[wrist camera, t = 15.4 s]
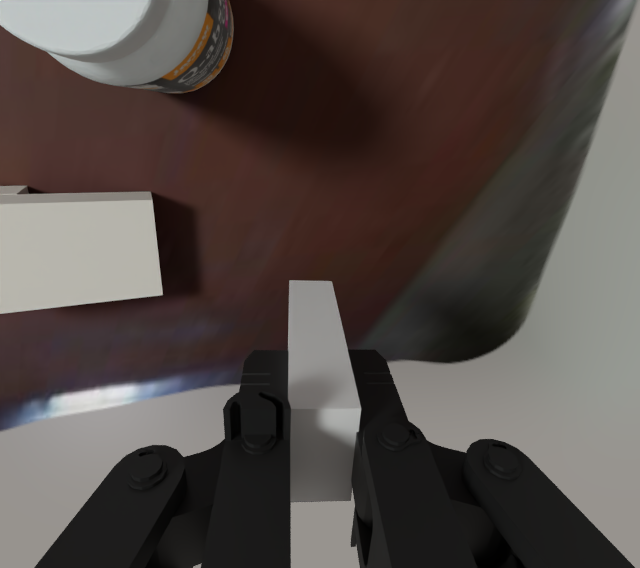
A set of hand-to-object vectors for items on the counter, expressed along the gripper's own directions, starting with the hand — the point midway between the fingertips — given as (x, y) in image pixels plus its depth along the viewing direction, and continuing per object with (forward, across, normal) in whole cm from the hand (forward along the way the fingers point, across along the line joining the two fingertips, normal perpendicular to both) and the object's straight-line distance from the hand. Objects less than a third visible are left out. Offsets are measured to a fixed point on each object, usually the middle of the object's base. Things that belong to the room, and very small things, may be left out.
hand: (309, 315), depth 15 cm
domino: (+8, -8, 0) cm, 11 cm away
